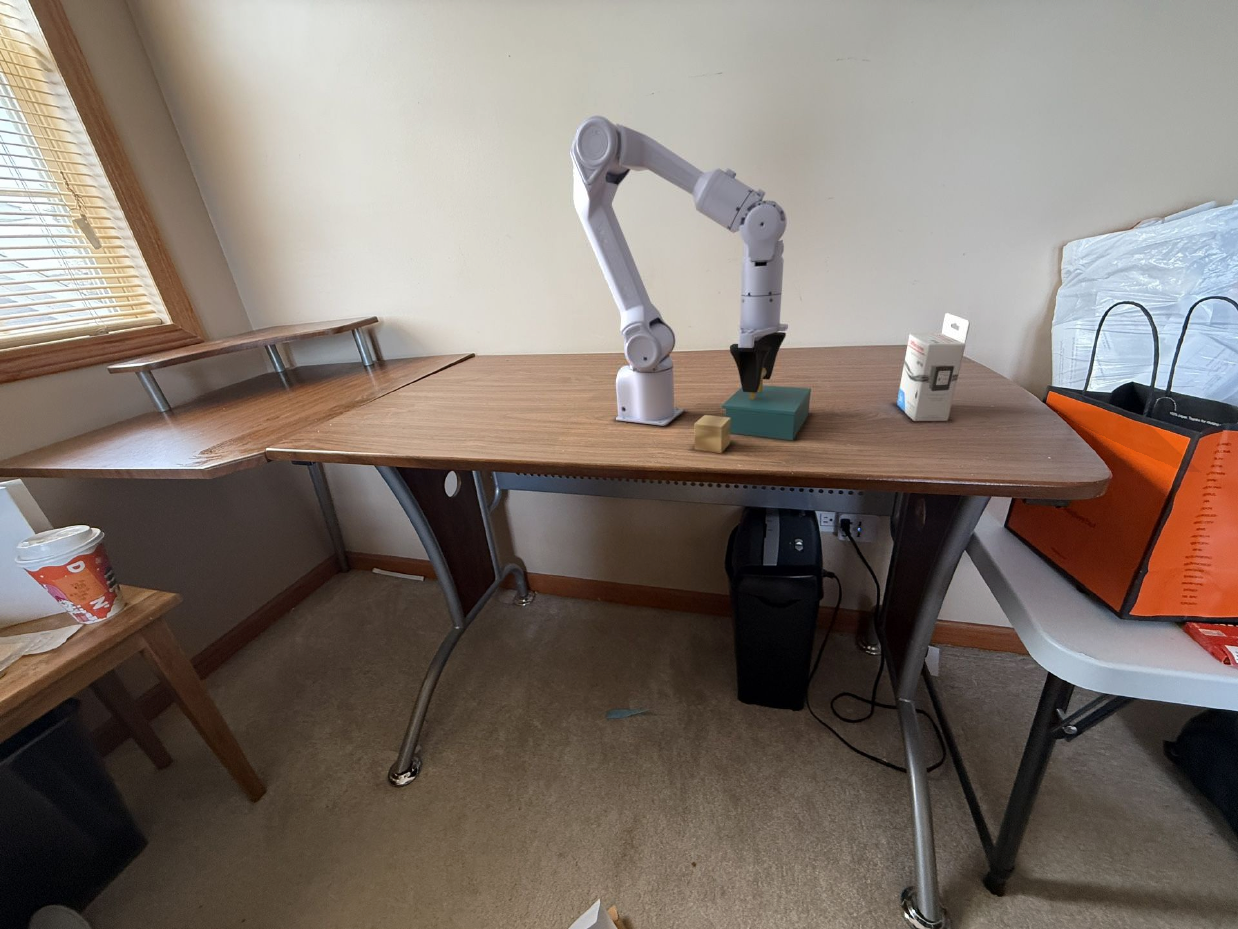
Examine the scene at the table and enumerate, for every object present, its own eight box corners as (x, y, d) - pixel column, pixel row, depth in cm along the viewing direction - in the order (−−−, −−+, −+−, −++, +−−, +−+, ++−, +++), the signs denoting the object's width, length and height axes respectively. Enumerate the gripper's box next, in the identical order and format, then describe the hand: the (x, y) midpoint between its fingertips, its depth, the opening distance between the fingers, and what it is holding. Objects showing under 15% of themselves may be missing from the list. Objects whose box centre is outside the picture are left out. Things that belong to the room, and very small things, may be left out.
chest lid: (721, 408, 73) (722, 379, 71) (744, 387, 83) (745, 360, 81) (794, 415, 68) (797, 384, 66) (810, 392, 77) (813, 363, 76)
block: (694, 449, 69) (694, 423, 68) (704, 439, 72) (704, 414, 71) (721, 453, 67) (721, 426, 66) (730, 443, 70) (730, 417, 69)
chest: (724, 432, 75) (725, 409, 73) (747, 408, 84) (748, 387, 82) (792, 440, 70) (794, 416, 68) (808, 414, 79) (810, 392, 77)
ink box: (895, 404, 80) (911, 313, 74) (927, 404, 79) (946, 312, 73) (913, 422, 73) (932, 322, 67) (949, 422, 72) (972, 320, 66)
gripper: (777, 300, 62) (771, 400, 68) (799, 287, 73) (793, 374, 79) (724, 301, 65) (723, 396, 71) (753, 289, 77) (750, 372, 82)
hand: (757, 385), depth 75 cm, fingers open, 7 cm apart
